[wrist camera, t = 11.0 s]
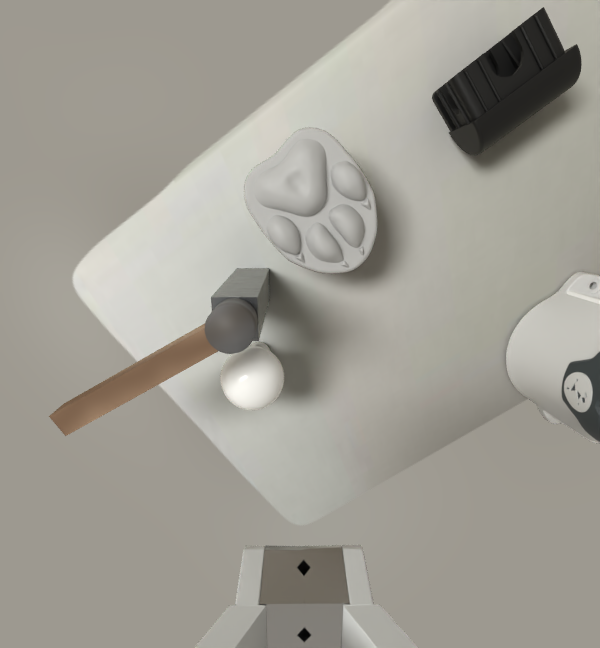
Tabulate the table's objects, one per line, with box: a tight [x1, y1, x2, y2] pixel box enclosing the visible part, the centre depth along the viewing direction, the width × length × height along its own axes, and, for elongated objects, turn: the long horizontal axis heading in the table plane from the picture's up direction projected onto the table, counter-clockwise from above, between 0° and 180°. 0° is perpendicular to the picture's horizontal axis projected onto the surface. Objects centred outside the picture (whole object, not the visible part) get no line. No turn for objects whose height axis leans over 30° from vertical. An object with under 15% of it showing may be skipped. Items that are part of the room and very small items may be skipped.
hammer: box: [49, 298, 258, 436], centre depth 32 cm, size 4×18×3 cm, turn 120°
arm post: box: [211, 268, 270, 341], centre depth 39 cm, size 4×4×14 cm
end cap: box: [432, 7, 581, 155], centre depth 38 cm, size 10×7×7 cm
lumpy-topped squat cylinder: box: [244, 128, 377, 274], centre depth 40 cm, size 10×13×9 cm
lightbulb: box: [220, 342, 284, 410], centre depth 43 cm, size 6×6×11 cm
